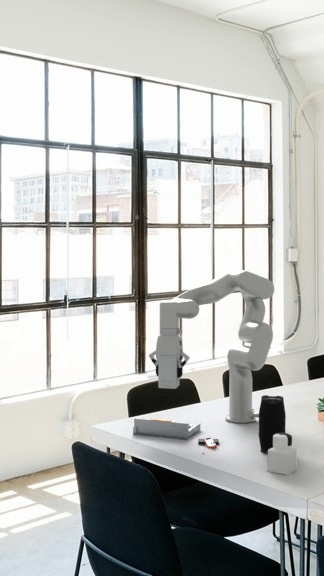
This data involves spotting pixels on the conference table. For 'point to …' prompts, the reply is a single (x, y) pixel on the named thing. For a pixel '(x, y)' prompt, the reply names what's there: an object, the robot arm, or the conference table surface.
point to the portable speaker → (270, 420)
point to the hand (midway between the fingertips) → (169, 376)
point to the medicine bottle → (282, 455)
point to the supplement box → (168, 372)
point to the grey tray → (164, 428)
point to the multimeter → (208, 442)
